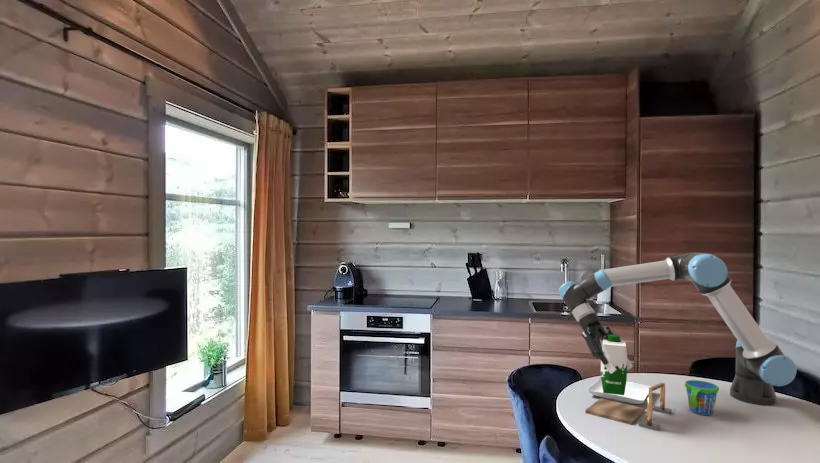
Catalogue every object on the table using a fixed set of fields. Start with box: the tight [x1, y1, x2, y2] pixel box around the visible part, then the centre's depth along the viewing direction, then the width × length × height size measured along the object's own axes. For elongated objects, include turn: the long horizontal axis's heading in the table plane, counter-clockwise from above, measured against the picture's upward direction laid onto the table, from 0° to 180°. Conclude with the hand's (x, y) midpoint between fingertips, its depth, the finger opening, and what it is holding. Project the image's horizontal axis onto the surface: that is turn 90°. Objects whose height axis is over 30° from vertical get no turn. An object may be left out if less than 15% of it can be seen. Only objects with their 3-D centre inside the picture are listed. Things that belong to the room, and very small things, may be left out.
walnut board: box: [584, 397, 646, 426], centre depth 180 cm, size 16×16×1 cm
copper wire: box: [638, 382, 673, 432], centre depth 174 cm, size 6×21×10 cm, turn 140°
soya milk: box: [600, 333, 628, 395], centre depth 179 cm, size 9×9×20 cm
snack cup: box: [684, 379, 720, 416], centre depth 181 cm, size 16×10×10 cm
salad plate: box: [586, 377, 653, 405], centre depth 198 cm, size 21×21×3 cm
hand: (621, 370), depth 177 cm, fingers closed on soya milk, 8 cm apart
